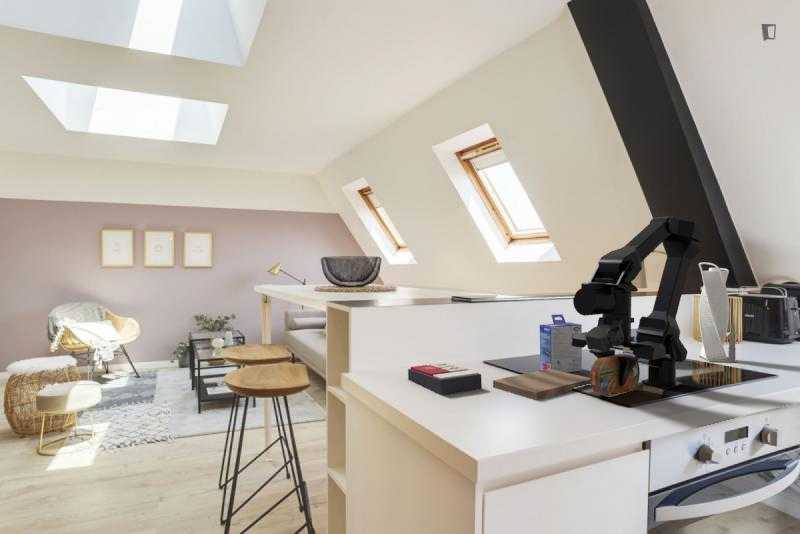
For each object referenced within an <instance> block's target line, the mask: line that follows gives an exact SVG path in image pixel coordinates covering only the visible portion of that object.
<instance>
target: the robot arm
mask: <svg viewBox="0 0 800 534" xmlns="http://www.w3.org/2000/svg"><path fill="white" fill-rule="evenodd" d="M648 223H649V224H647V225H646V226H645V227H644V228H643V229H642V230H641V231H640V232H639V233H637V235H635V236H634V237H633V238H632V239H631V240H629V242H627V243H626V244H625V245H624V246H622V247H620V248H618V249H617V248H616V249H614V250H611V251H609V252H608V253H606V254H603V255H602V256H601V257H600V259H598V263H597V265H596V267H595V269H594V271H593V273H592V275H591V277H590V279H589V280H588V282H581V284H580V288H579V289H578V290H577V291H576V292H575V294H574V296H573V298H572V300H573V301H572V303H573V308H574V310H575V311H576V312H577V313H578V314H579V315H581V316H585V317H586V316H597V315H602V316H600V317H598V319H597V326H593V327H592V328H591V329H590V330H588V331H585V332H582V333H577V334H574V336H573V337H572V346H575V347H580V348H582V349H584V348H585V347H586V346H587V349H589V351H588V352H589V353H590V354H593V355H594V357H596V358H597V359H599V358H602V357H607V356H611V355H616V350H618V351H622V354H623V355H619V356H617V358H618V360H619V362H620V371H619V384H620V386H624V384H625V382H626V380H627V378H628V376H629V374H630V373H631V371H632V369H633V367H634V365H635V364H636V362H637V361H638V360H639V359H640V358H641V359H647V360H648V365H647V366H648V367H647V368H648V369H647V379H643V380H641V384H647V385H651V386H655V387H659V388H663V389H668V390H671V389H673V388H677V387H679V386H682V385H683V382H682V381H678V380H677V363H683V362H685V361H686V359H687V356H688V350H687V348H686V347H685V345H684V344H683V342H682V341H681V340H680V336H681V330H680V327H679V324H678V322H677V314H678V310H679V306H680V303H681V298H682V295H683V291H684V288H685V284H686V279H687V276H688V272H689V268H690V265H691V261H692V260H693V259H694V258H695V257H697V256H698V255H699V254H700V253H701V251H702V249H703V247H704V244H705V242H706V240H707V237H708V232H707V228H706V227H704V226H703V225H702V223H701V222H699V221H697V222H695V221H694V222H693V221H688V220H684V219H679V218H677V217H674V216H671V215H670V216H657V217H654V218H651V220H650V221H649V222H648ZM661 244H662V245H663V247H664V251H665V253H666V259H665V263H664V267H663V271H662V274H661V279H660V281H659V285H658V289H657V293H656V297H655V299H654V304H653V307H652V311H651V313H649V315H647V316H643V315H642V316H641V317H640V319H639V323H638V326H637V327H638V328H636V329H637V331H636V333H637V335H636V341H637V343H631V342H633V341H634V337H633V336H631V329H632V324H633V323H635V317H632V293H634V292H635V293H636V292H639V291H638V290H639V289H638V287H637V286H635V285H634V284H633V281H634V280H635V279H636V278H637V276H638V275H639V273H640V272H641V271H642V270H643V263H642V262H644V260H646V258H647V257H648V256H650V254H651V253H652V252H653V251H655V250H656V249H657V248H658V247H659V246H661ZM620 345H621V346H620ZM638 362H639V361H638Z"/></svg>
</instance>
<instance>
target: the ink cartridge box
mask: <svg viewBox="0 0 800 534" xmlns="http://www.w3.org/2000/svg"><path fill="white" fill-rule="evenodd" d="M555 318H561V319H555ZM551 319H552V322H553V323H543V324H542V323H541V324H539V357H540V358H539V368H540V369H539V371H540V370H545V369H553V370H557V371H561V372H566V373H572V372H573V373H574V372H582V371H583V368H582V367H583V360H582V359H583V356H582V355H583V354H582V353H583V348H580V347H575V346H572V337H573V336H574V334H577V333H583V332H582V329H583V328H582V327H583V325H582V324H580V323H575V322H569V321H567V322H566V320H565V317H564V315H563V313H562V314H551Z"/></svg>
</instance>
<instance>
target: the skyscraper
mask: <svg viewBox="0 0 800 534" xmlns="http://www.w3.org/2000/svg"><path fill="white" fill-rule="evenodd" d="M702 265H708V266H713V267H709V268H708V270H703V267H702ZM698 267H699V269H700V273H701V277H702V283H703V286H702V289H701V294H700V296H699V298H700V299H699V304H698V305H699V308H698V320H699V331H700V337H701V341H702V347H701V349H700V351H699V354H698V357H699V358H700V359H702V360H705V361H707V362H710V363H725V364H726V363H727V364H729V363H730V364H737V363H738V360H736V332H735V323H734V318H735V317H733V316H732V317H731V323H730V311H731V310H730V308H731V307H730V306H731V305H730V298H729V297H730V296H729V294H728V289H727V285H726V283H727V280H728V276H729V273H730V270H729V269H728V268H724V267H723V268H722V267H719V266H718V265H717V264H715V263H712V262H707V261H706V262H699V263H698ZM729 323H730V332H729V338H728V339H729V340H728V342H729V343H728V346H729V347H728V357H727V354H726V351H725V348H724V344H725V340H726V337H727V332H728V330H729V329H728V327H729Z"/></svg>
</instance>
